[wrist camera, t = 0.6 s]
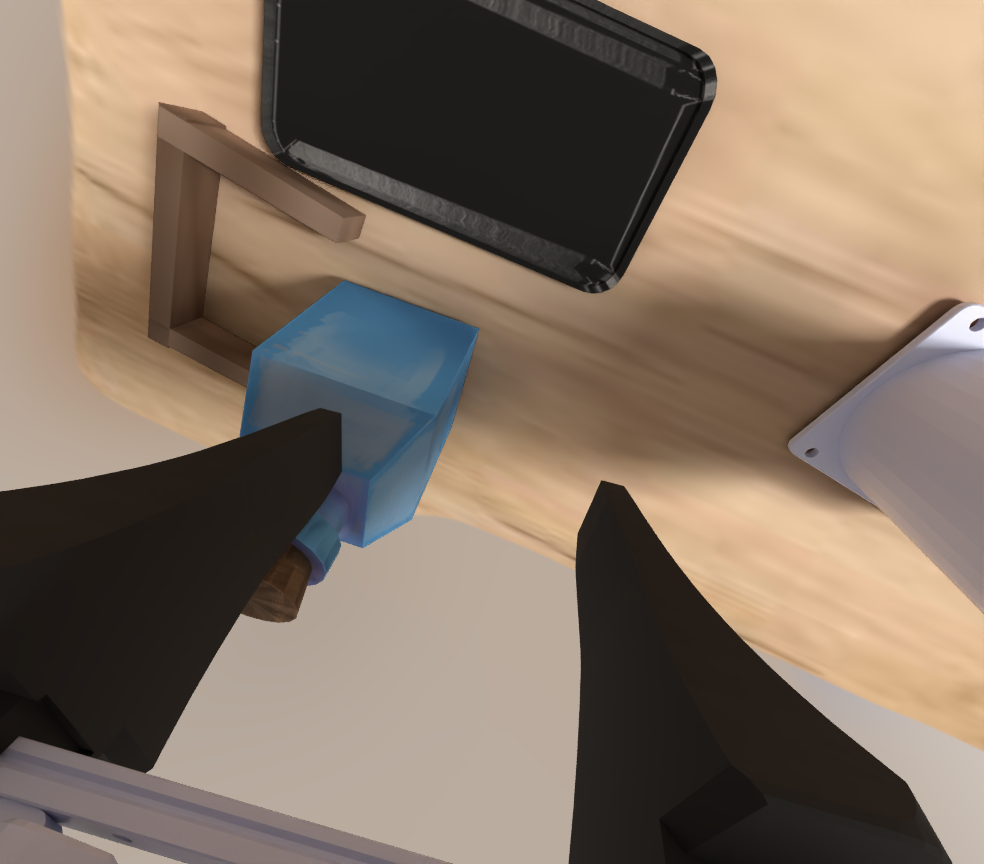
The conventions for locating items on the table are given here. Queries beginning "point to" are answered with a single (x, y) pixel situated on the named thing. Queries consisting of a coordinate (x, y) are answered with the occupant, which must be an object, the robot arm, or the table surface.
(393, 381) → the perfume bottle
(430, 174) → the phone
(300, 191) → the bracket
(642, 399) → the table surface
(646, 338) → the table surface
